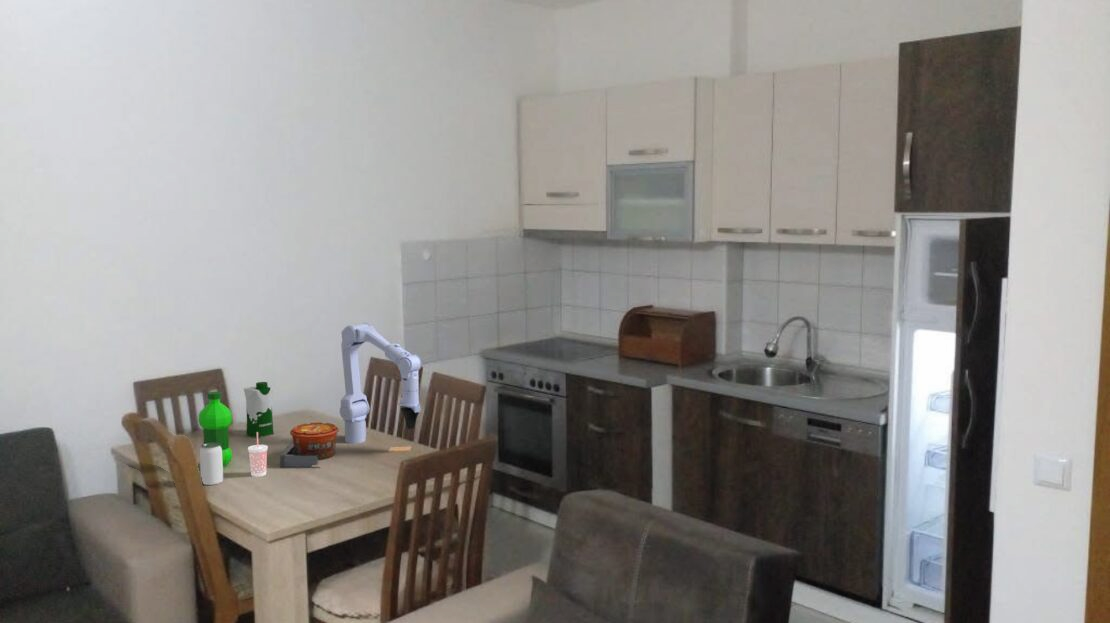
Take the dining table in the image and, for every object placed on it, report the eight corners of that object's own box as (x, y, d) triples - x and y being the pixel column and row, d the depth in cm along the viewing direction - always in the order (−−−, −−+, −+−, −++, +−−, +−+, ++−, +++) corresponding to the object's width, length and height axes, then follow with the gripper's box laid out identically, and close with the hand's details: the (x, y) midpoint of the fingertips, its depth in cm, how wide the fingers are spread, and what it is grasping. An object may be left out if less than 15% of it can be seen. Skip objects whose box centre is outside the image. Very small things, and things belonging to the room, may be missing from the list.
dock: (297, 448, 310) (297, 437, 310) (331, 448, 311) (331, 437, 310) (280, 467, 289) (280, 455, 288) (317, 467, 289) (316, 455, 288)
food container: (340, 463, 294) (339, 432, 293) (291, 466, 290) (290, 435, 288) (337, 450, 310) (337, 420, 308) (290, 453, 305) (290, 423, 304)
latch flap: (409, 452, 305) (409, 450, 305) (386, 453, 305) (386, 451, 305) (411, 448, 310) (411, 446, 310) (389, 449, 310) (389, 447, 310)
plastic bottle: (205, 462, 293) (202, 389, 290) (237, 461, 294) (235, 389, 291) (196, 471, 283) (192, 396, 280) (229, 471, 284) (226, 396, 281)
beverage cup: (248, 472, 283) (246, 430, 281) (267, 470, 285) (266, 428, 284) (249, 478, 277) (247, 435, 276) (269, 476, 280) (268, 433, 278)
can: (215, 486, 269) (214, 448, 268) (196, 484, 271) (195, 447, 269) (227, 479, 276) (226, 443, 274) (209, 478, 277) (207, 441, 275)
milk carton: (257, 438, 322) (255, 385, 320) (242, 434, 328) (240, 382, 325) (277, 433, 329) (275, 381, 327) (262, 429, 335) (260, 378, 332)
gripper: (392, 387, 306) (392, 424, 308) (406, 395, 294) (406, 434, 295) (411, 385, 310) (411, 422, 311) (426, 393, 297) (426, 432, 299)
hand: (410, 428), depth 304 cm, fingers closed
